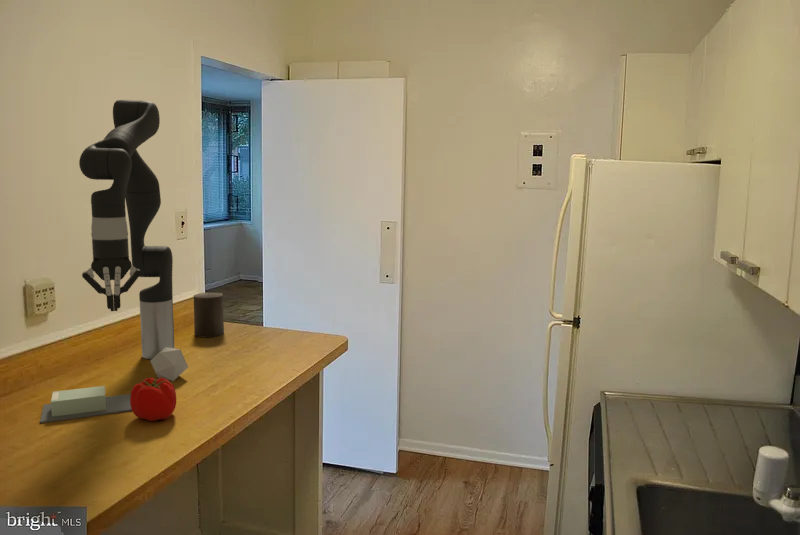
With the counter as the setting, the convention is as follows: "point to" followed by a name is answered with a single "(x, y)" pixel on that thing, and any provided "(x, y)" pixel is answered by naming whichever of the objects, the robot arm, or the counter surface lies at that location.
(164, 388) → the tomato
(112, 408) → the mat
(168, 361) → the die
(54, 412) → the slab
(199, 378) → the counter surface
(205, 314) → the pillar candle
